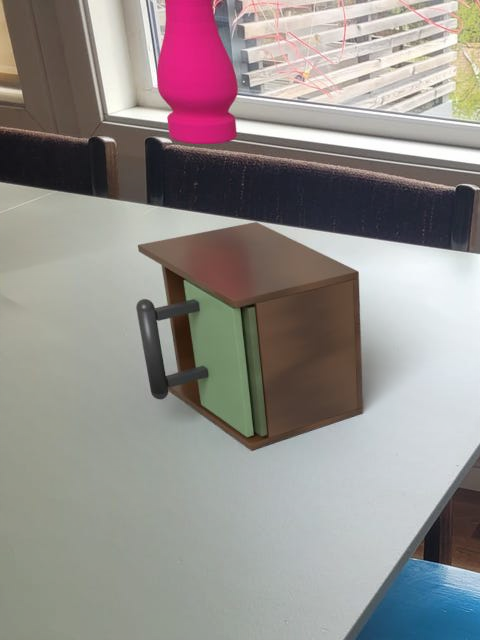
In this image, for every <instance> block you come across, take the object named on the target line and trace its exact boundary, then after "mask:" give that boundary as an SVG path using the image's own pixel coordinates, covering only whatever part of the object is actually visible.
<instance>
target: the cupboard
mask: <svg viewBox="0 0 480 640" xmlns="http://www.w3.org/2000/svg"><path fill="white" fill-rule="evenodd" d="M137 249H138V252H139V253H140V254H142V255H144V256H146V257H148V258H149V259H150V260H153V261H154V262H155V263H157V264H159V265H161V270H162V277H163V284H164V289H165V290H164V291H165V297H166V305H171V304H175V303H179V302H184V301H186V294H185V287H184V280H188V281H190V282H192V283H193V284H195V285H197V286H198V287H200V288H202V289H204V290H205V291H207V292H209V293H210V294H212V295H214V296H215V297H217V298H219V299H221V300H222V301H224V302H226V303H227V304H229V305H231V306H233V307H234V308H239V307H240V311H241V320H242V329H243V338H244V348H245V357H246V366H247V376H248V385H249V394H250V404H251V413H252V422H253V431H254V435H253V436H250V437H246V436H245V435H243V434H242V433H240V432H239V431H238V430H236V429H235V428H233V427H232V426H231V425H229V424H228V423H226V422H225V421H224V420H222V419H221V418H219V417H218V416H217V415H215V414H214V413H212V412H211V411H210V410H208V409H207V408H205V407H204V406H203V405H201V400H200V393H199V386H198V380H195V381H191V382H188V383H184V384H181V385H177V386H174V387H170V388H169V387H168V392H170V393H171V394H172V395H174V396H175V397H177V398H178V399H179V400H181V401H182V402H183V403H185V404H187V405H188V407H191V408H192V409H193V410H195V412H197V413H199V414H200V415H202V416H203V417H204V418H205V419H207V420H208V421H210V422H211V423H213V424H214V425H215V426H217V427H218V428H220V429H221V430H222V431H224V432H225V433H227V435H229V436H231V437H232V439H233V438H234V439H235V440H236V441H237V442H239V443H240V444H242V445H243V446H244V447H246V448H247V449H248V450H250V451H255V450H257V449H260V448H263V447H266V446H269V445H273V444H275V443H278V442H281V441H284V440H287V439H290V438H294V437H296V436H299V435H303V434H304V433H307V432H311V431H314V430H317V429H320V428H322V427H325V426H328V425H332V424H335V423H338V422H341V421H344V420H347V419H350V418H352V417H356V416H359V415H361V414H364V398H363V366H362V334H361V333H362V332H361V329H362V328H361V299H360V297H361V296H360V273H359V271H358V270H357V269H354V268H353V267H350V266H348V265H346V264H345V263H342V262H340V261H338V260H335V259H334V258H331V257H330V256H327V255H326V254H324V253H321V252H319V251H317V250H315V249H313V248H311V247H309V246H307V245H305V244H303V243H300V242H299V241H297V240H295V239H293V238H291V237H288V236H286V235H284V234H282V233H280V232H278V231H276V230H273V229H272V228H270V227H267V226H265V225H263V224H261V223H259V222H257V221H254V222H250V223H244V224H238V225H233V226H228V227H223V228H219V229H213V230H207V231H201V232H197V233H192V234H187V235H182V236H177V237H172V238H171V237H170V238H165V239H161V240H156V241H150V242H146V243H140V244H137ZM169 322H170V329H171V330H170V331H171V337H172V342H173V349H174V356H175V361H176V368H177V373H178V372H182V371H185V370H189V369H192V368H196V364H195V357H194V350H193V343H192V336H191V329H190V322H189V315H188V314H185V315H181V316H177V317H172V318H169Z"/></svg>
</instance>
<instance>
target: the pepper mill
mask: <svg viewBox="0 0 480 640" xmlns="http://www.w3.org/2000/svg"><path fill="white" fill-rule="evenodd" d="M164 7H165V8H164V10H165V24H164V25H165V26H164V34H163V39H162V44H161V48H160V52H159V56H158V60H157V69H156V83H157V85H156V86H157V91H158V93H159V95H160V97H161V98H162V99H163V101H164V102H165V103H166V104H167V106H169V107H170V109H171V110H172V112H170V113H169V114H168V115H167V117H166V119H167V125H168V126H167V127H168V134H169V137H170V138H171V139H172V140H174V141H176V142H180V143H184V144H189V145H191V144H192V145H215V144H216V145H217V144H223V143H229V142H232V141H234V140H235V139H236V138H237V136H238V133H237V122H236V117H235V115H234V114H232V113H231V112H229V110H230V108H231V106H232V105H233V104H234V102H235V100H236V98H237V96H238V94H239V86H238V79H237V73H236V72H235V68H234V66H233V62H232V60H231V58H230V56H229V54H228V52H227V49H226V48H225V47H226V46H225V45H224V42H223V40H222V38H221V36H220V32H219V29H218V26H217V23H216V19H215V18H216V17H215V13H214V7H213V0H164Z"/></svg>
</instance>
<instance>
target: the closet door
mask: <svg viewBox="0 0 480 640" xmlns="http://www.w3.org/2000/svg"><path fill="white" fill-rule="evenodd" d="M184 287H185V294H186V301H184V302H179V303H175V304H171V305H168V304H166V305H163V306H158V307H155V305H154V303H153V302H152V301H151V300H150V299H147V298H142V299H139V300H138V302H137V303H136V306H135V308H136V315H137V320H138V325H139V332H140V338H141V342H142V343H141V344H142V349H143V354H144V361H145V366H146V371H147V377H148V382H149V389H150V393H151V396H152V397H153V398H154V399H157V400H164V399H166V398H167V396H168V394H169V390H168V387H169V388H170V387H174V386H177V385H181V384H184V383H188V382H191V381H195V380H198V386H199V393H200V400H201V405H203V406H204V407H205V408H207V409H208V410H210V411H211V412H212V413H214V414H215V415H217V416H218V417H219V418H221V419H222V420H224V421H225V422H226V423H228V424H229V425H231V426H232V427H233V428H235V429H236V430H238V431H239V432H240V433H242V434H243V435H245V436H246V437H250V436H253V435H254V431H253V422H252V413H251V404H250V394H249V385H248V376H247V366H246V357H245V348H244V338H243V329H242V320H241V311H240V307H239V308H234V307H233V306H231V305H229V304H227V303H226V302H224V301H222V300H221V299H219V298H217V297H215V296H214V295H212V294H210V293H209V292H207V291H205V290H204V289H202V288H200V287H198V286H197V285H195V284H193V283H192V282H190V281H188V280H184ZM185 314H188V315H189V322H190V329H191V336H192V343H193V350H194V357H195V364H196V368H192V369H189V370H185V371H182V372H178V371H177V372H174V373H172V374H167V375H166V369H165V363H164V357H163V351H162V345H161V339H160V332H159V328H158V327H159V326H158V321H164V320H168V319H170V318H172V317H177V316H181V315H185Z"/></svg>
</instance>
